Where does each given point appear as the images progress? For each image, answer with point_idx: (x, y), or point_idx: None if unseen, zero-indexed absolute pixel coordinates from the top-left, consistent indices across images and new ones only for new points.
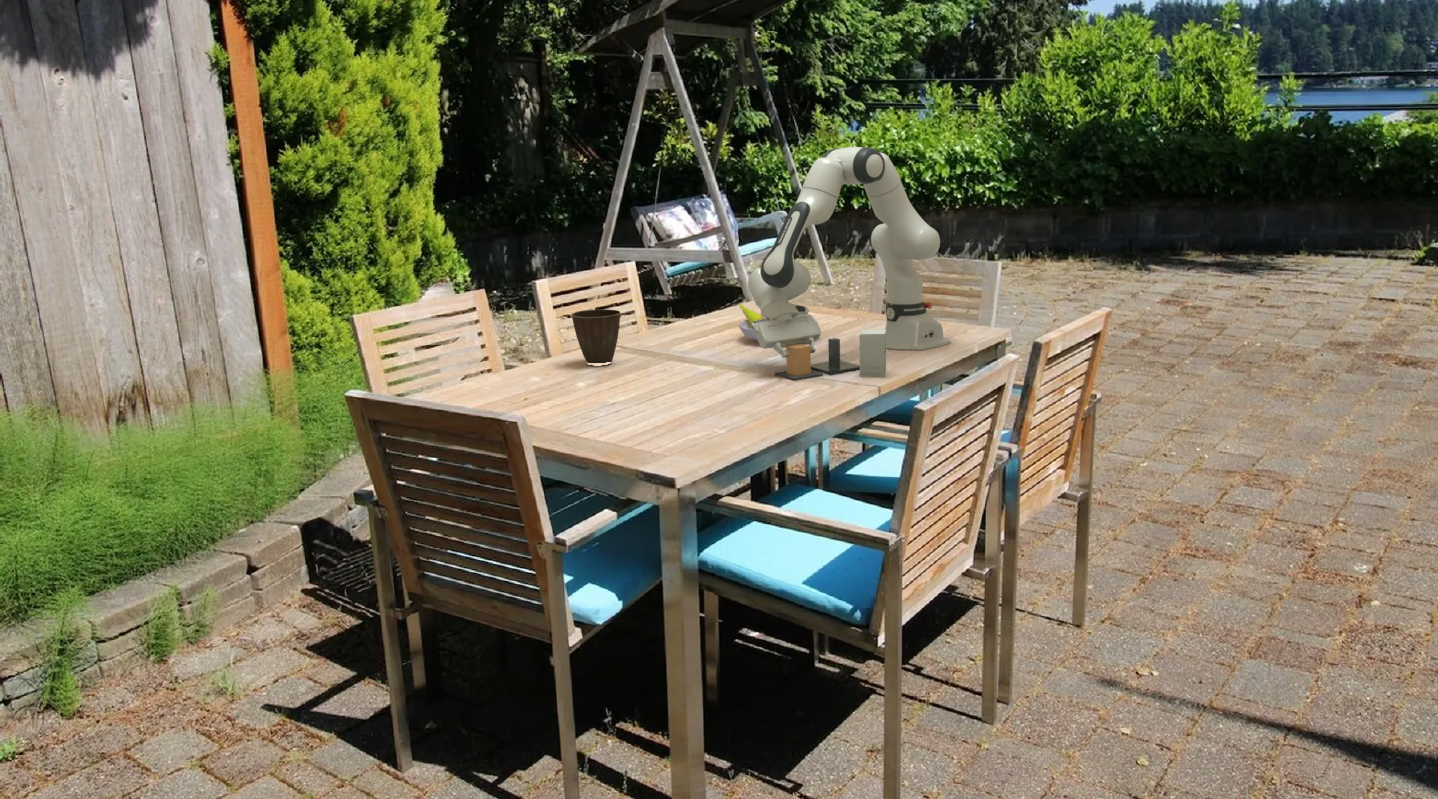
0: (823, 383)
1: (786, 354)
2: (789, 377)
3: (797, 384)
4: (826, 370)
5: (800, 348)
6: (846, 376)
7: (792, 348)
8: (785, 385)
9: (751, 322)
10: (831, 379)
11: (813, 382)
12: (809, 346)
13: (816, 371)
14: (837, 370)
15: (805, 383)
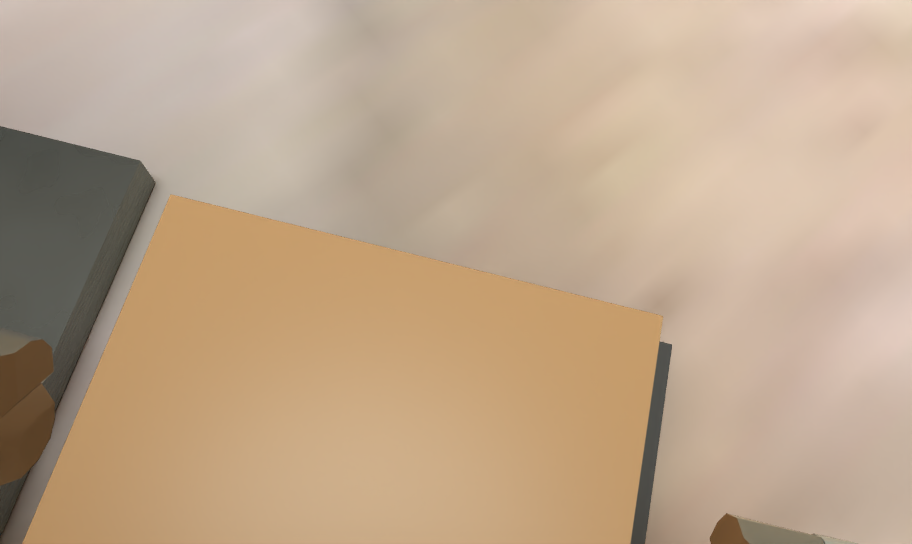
0: (537, 25)
1: (808, 534)
2: (655, 460)
3: (763, 208)
4: (81, 253)
5: (513, 284)
6: (109, 19)
7: (627, 510)
8: (898, 285)
9: None
10: (331, 62)
11: (570, 129)
12: (201, 203)
13: (23, 482)
14: (14, 139)
15: (666, 168)
